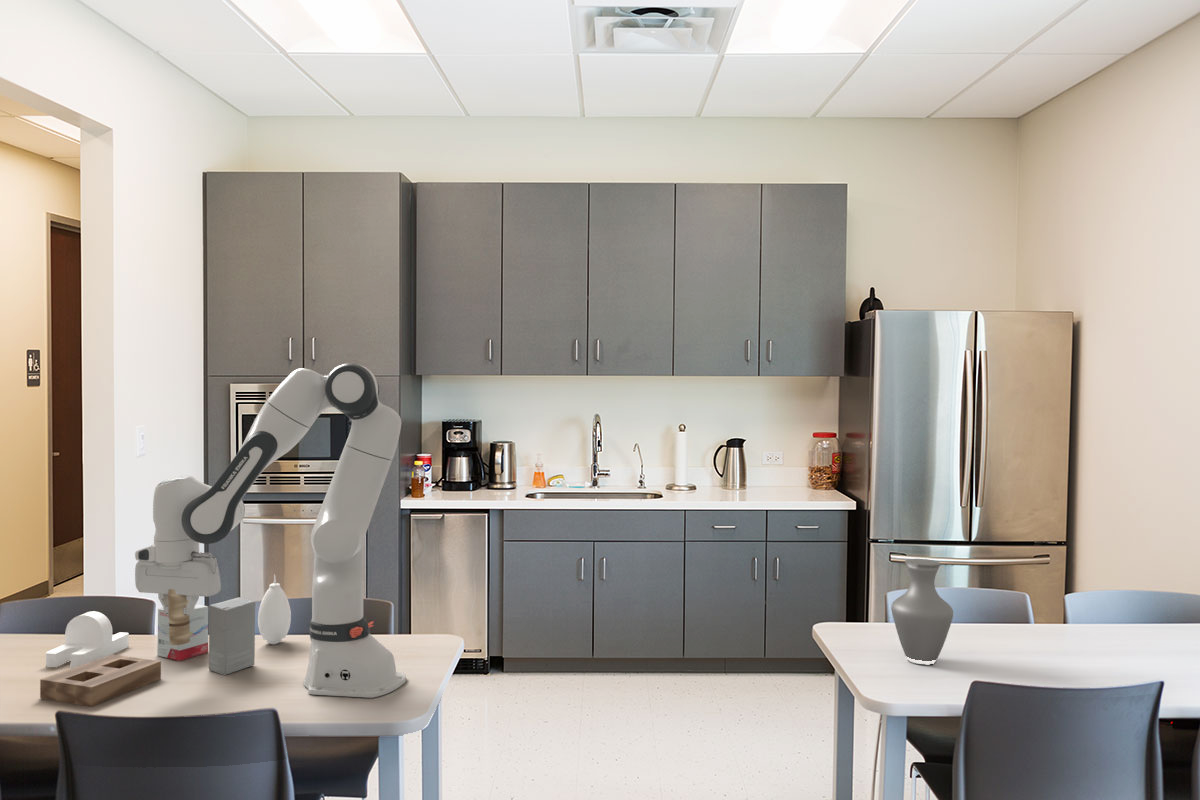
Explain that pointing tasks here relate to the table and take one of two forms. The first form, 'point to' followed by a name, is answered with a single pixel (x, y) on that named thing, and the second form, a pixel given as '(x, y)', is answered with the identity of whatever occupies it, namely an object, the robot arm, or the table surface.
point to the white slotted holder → (87, 641)
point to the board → (100, 680)
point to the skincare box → (231, 635)
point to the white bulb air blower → (274, 614)
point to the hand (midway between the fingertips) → (179, 614)
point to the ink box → (197, 636)
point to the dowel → (178, 619)
